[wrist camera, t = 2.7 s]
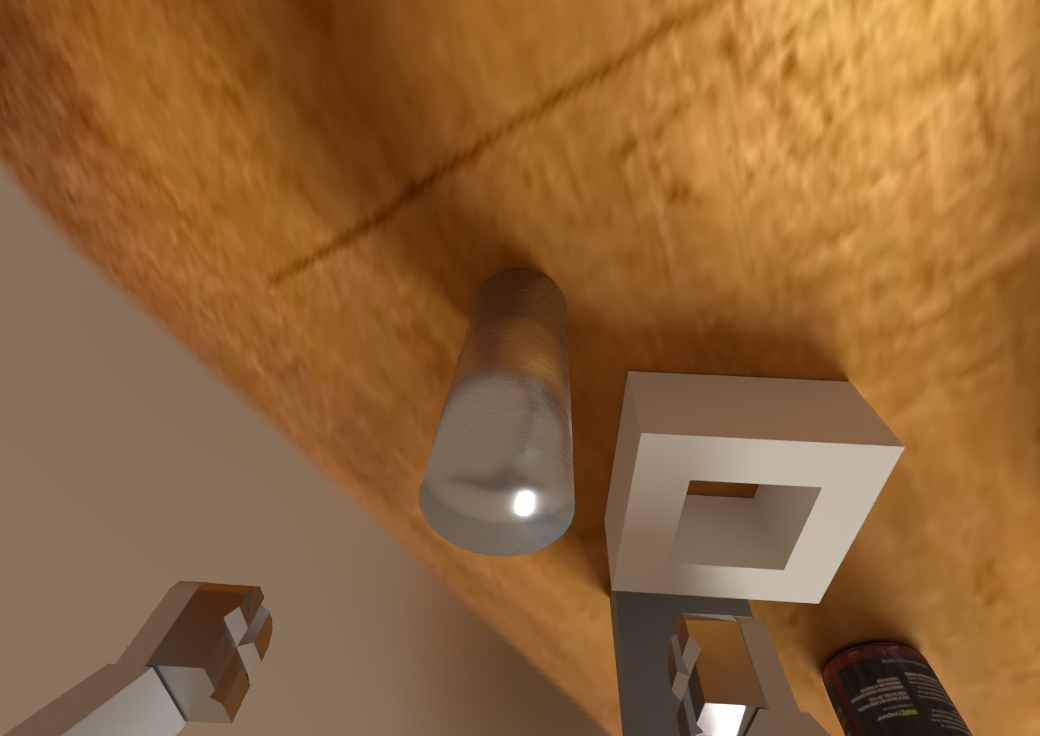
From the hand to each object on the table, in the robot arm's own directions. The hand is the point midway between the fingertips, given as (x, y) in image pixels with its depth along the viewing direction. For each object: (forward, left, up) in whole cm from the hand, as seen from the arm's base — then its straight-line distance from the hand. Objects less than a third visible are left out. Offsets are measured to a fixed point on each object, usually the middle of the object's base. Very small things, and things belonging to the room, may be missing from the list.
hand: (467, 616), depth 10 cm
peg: (0, 0, -13) cm, 12 cm away
